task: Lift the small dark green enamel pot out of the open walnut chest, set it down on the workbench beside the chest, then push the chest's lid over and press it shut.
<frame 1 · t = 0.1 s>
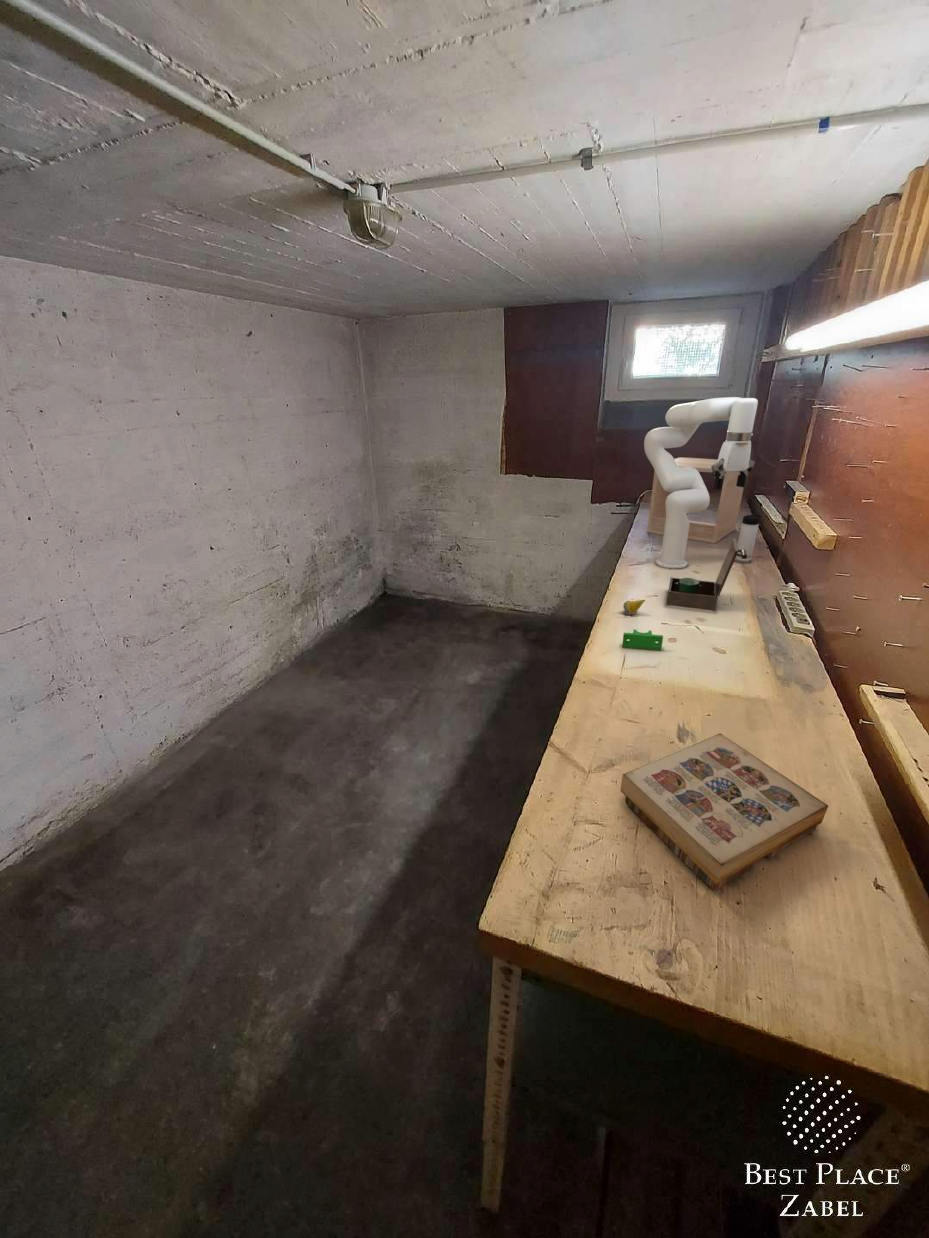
hand: (728, 488, 173), 37 cm above the table, tool pointing down, fingers open, 9 cm apart
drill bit: (632, 615, 167), on the table
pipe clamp: (641, 646, 147), on the table
pot: (686, 599, 175), point 1 cm above the table, touching chest
travel mug: (742, 561, 210), on the table
storage cube: (690, 531, 253), on the table
chest: (690, 601, 174), on the table
chest lid: (732, 568, 164), point 14 cm above the table, hinge at 100.0°
beige printed box: (711, 807, 91), on the table
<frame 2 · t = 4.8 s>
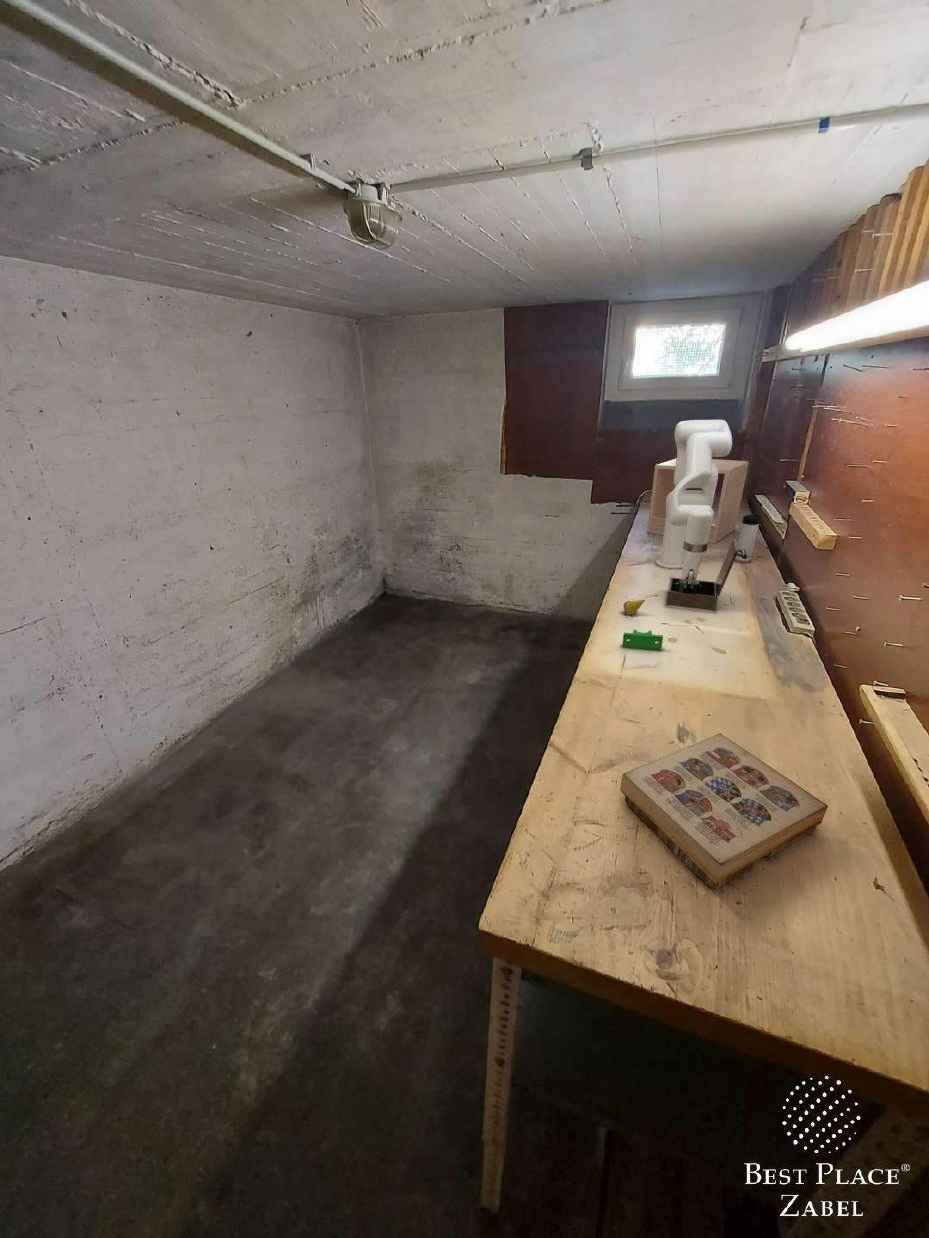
hand: (687, 594, 174), 3 cm above the table, tool pointing down, fingers closed on pot, 6 cm apart
pot: (686, 599, 175), point 1 cm above the table, touching chest, gripper
everything else where it was.
when the fingers open (2 cm above the table, at t = 15.5 s): pot stays where it is, on the table.
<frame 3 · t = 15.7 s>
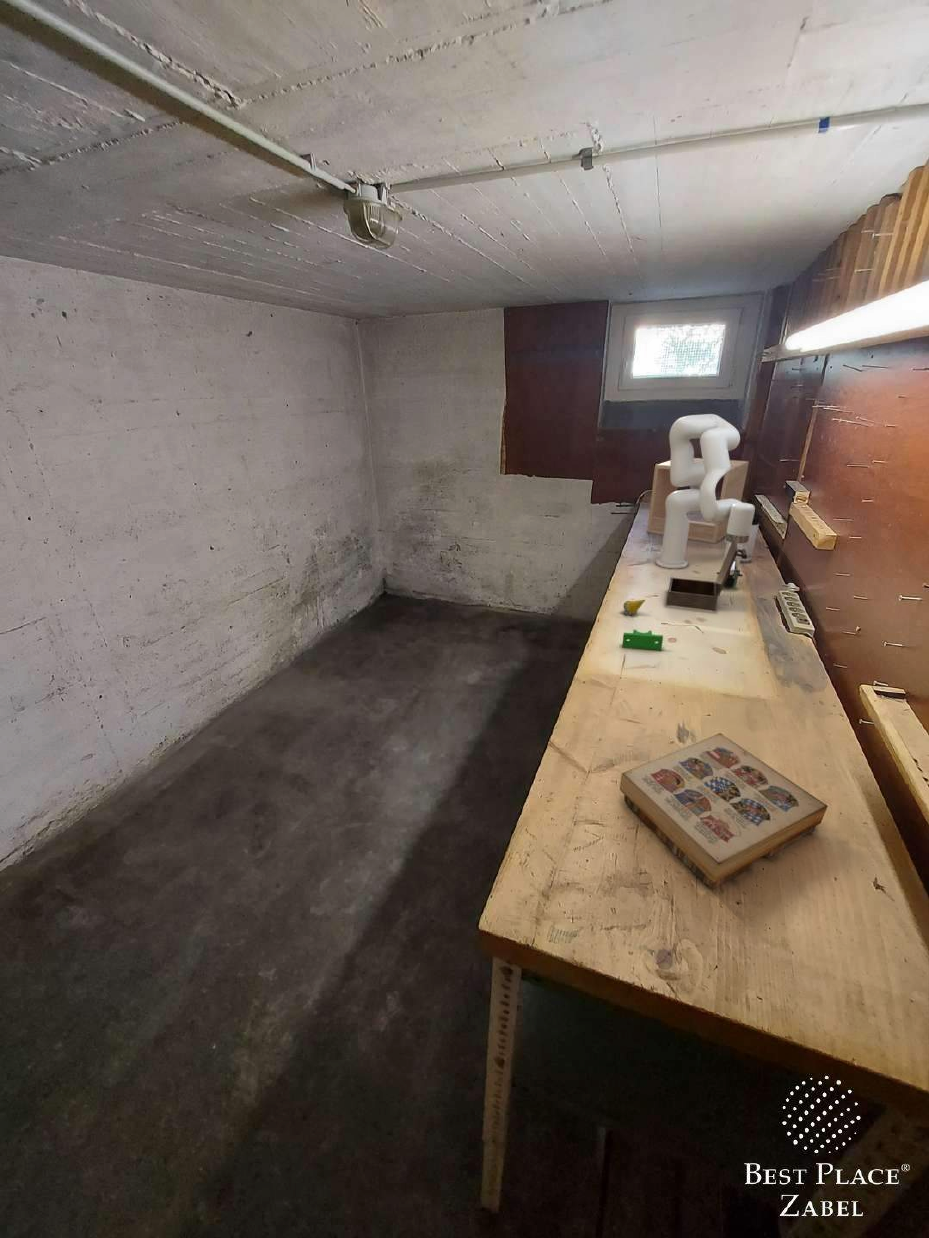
hand: (727, 583, 184), 2 cm above the table, tool pointing down, fingers open, 6 cm apart
pot: (726, 587, 184), on the table
everything else where it was.
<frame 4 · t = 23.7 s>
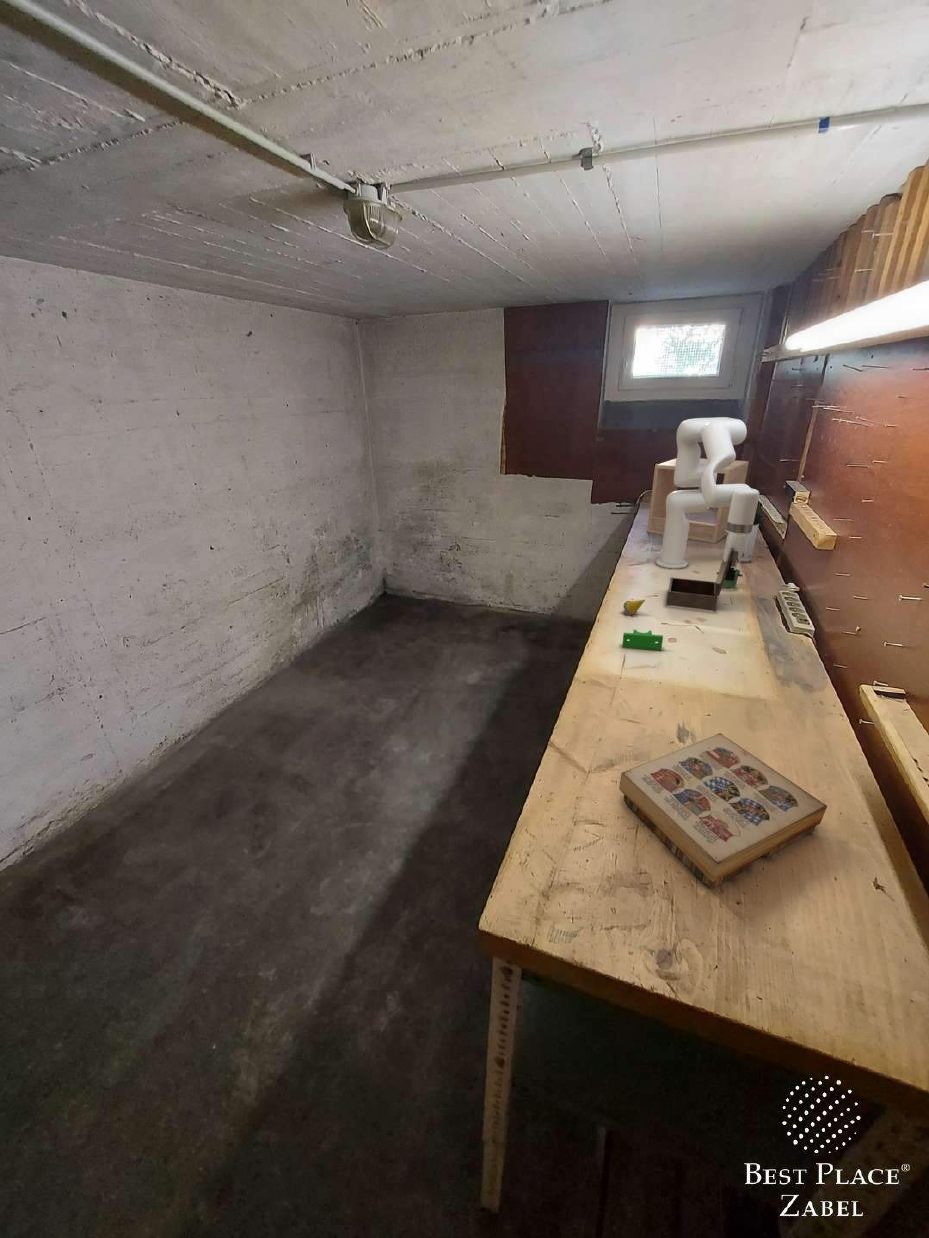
hand: (728, 579, 166), 10 cm above the table, tool pointing down, fingers closed
chest lid: (730, 567, 164), point 14 cm above the table, hinge at 95.7°, touching gripper
everything else where it was.
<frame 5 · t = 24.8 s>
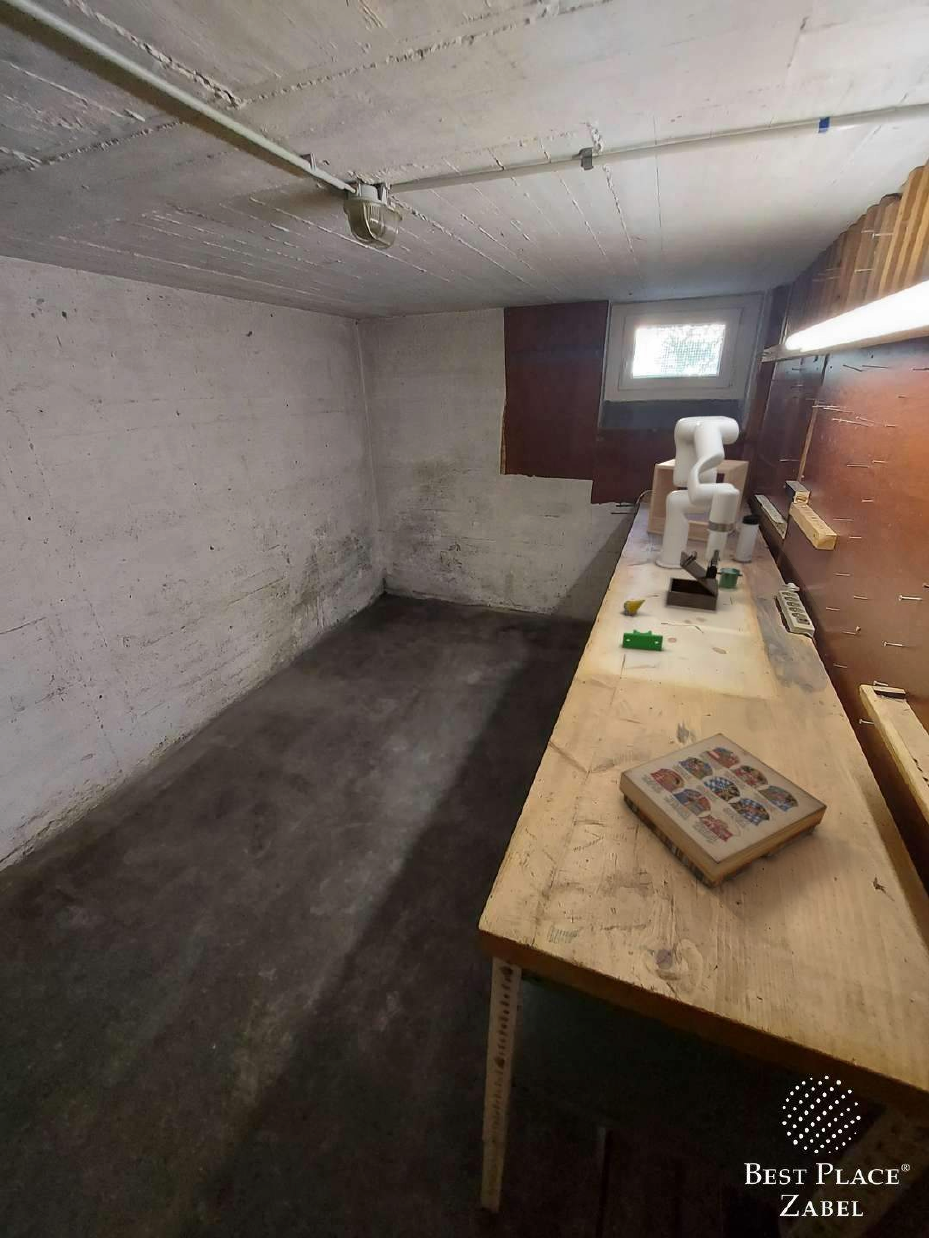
hand: (710, 577, 168), 10 cm above the table, tool pointing down, fingers closed
chest lid: (703, 569, 168), point 13 cm above the table, hinge at 37.1°
everything else where it was.
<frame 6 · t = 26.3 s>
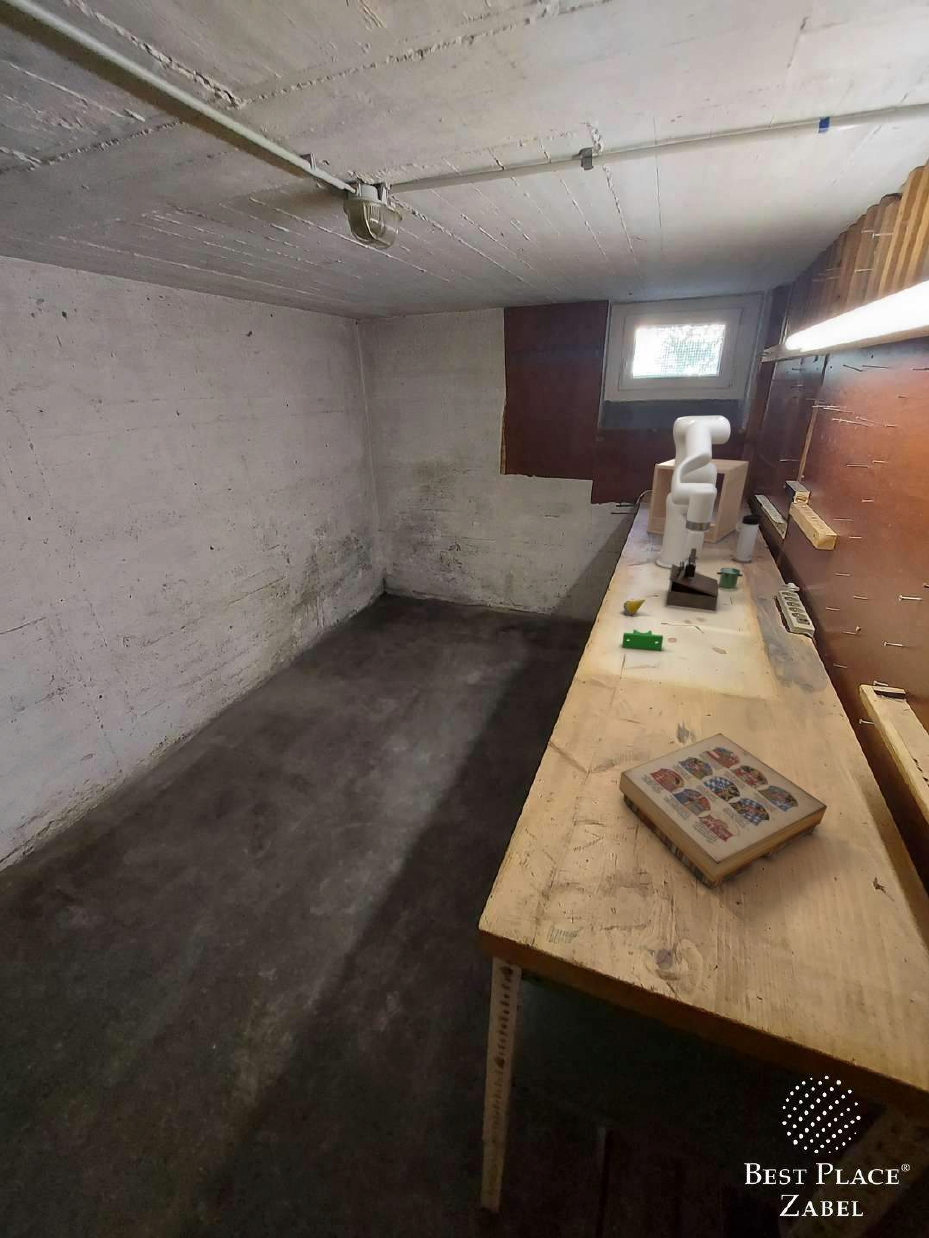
hand: (689, 576, 171), 10 cm above the table, tool pointing down, fingers closed
chest lid: (696, 575, 170), point 10 cm above the table, hinge at 15.7°
everything else where it was.
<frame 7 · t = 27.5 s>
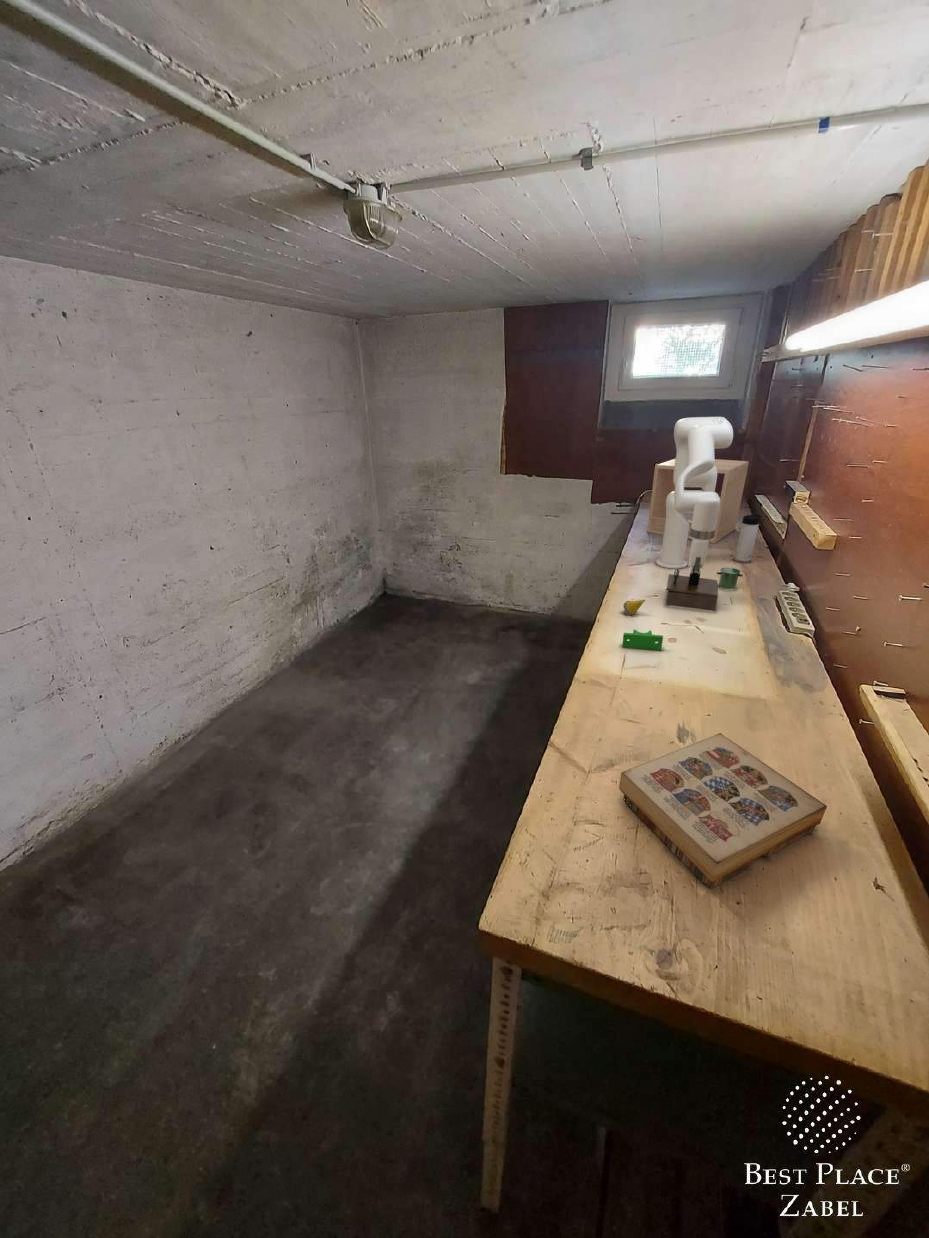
hand: (693, 583, 171), 7 cm above the table, tool pointing down, fingers closed
chest lid: (693, 580, 171), point 8 cm above the table, hinge at 1.6°, touching gripper
everything else where it was.
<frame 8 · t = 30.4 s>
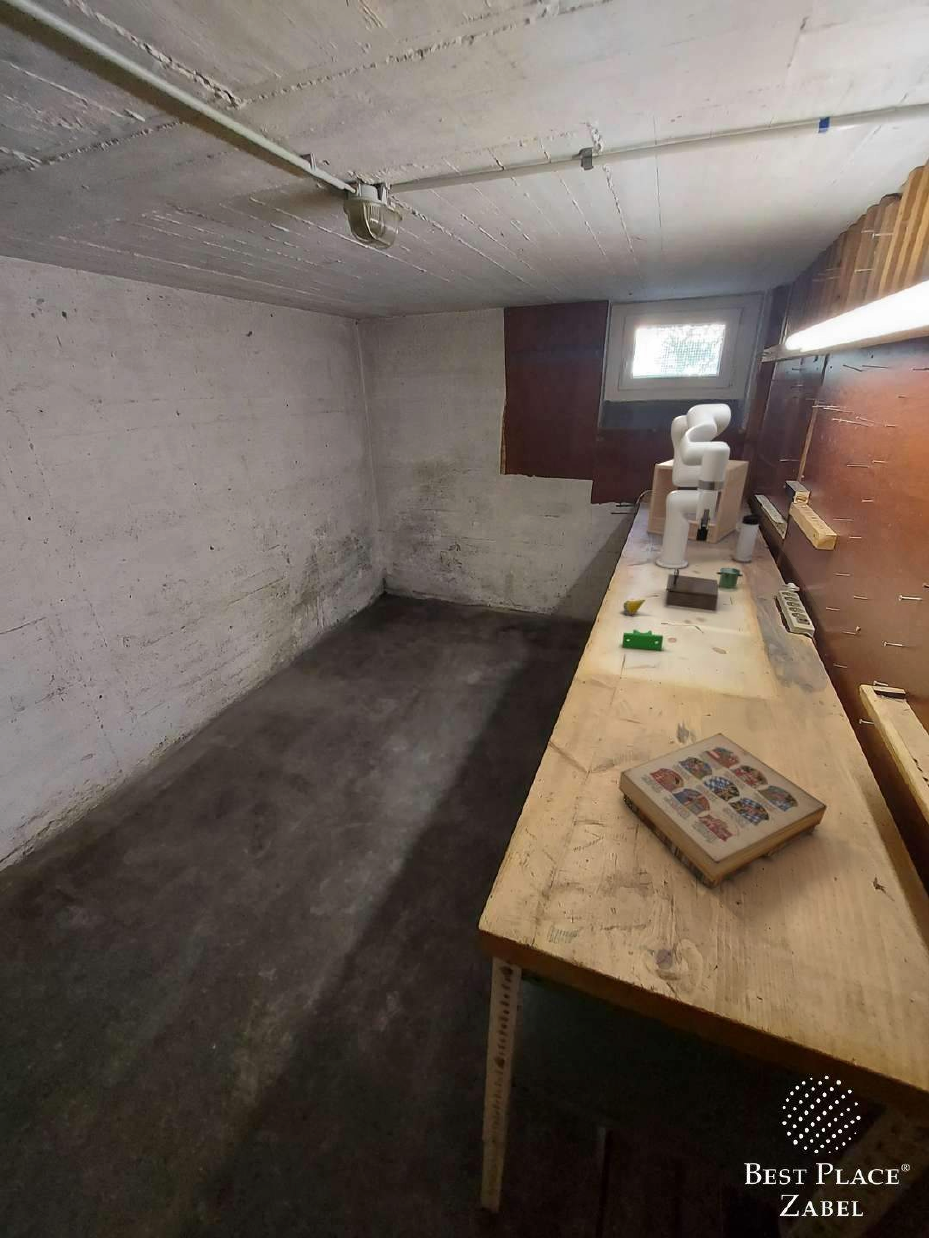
hand: (701, 540, 164), 23 cm above the table, tool pointing down, fingers closed
chest lid: (693, 580, 171), point 8 cm above the table, hinge at 1.6°
everything else where it was.
at the end: pot inside the target area (0.1 cm from its centre), on the table; pot tilted 0°; chest lid at +2° (first picture: +100°) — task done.
